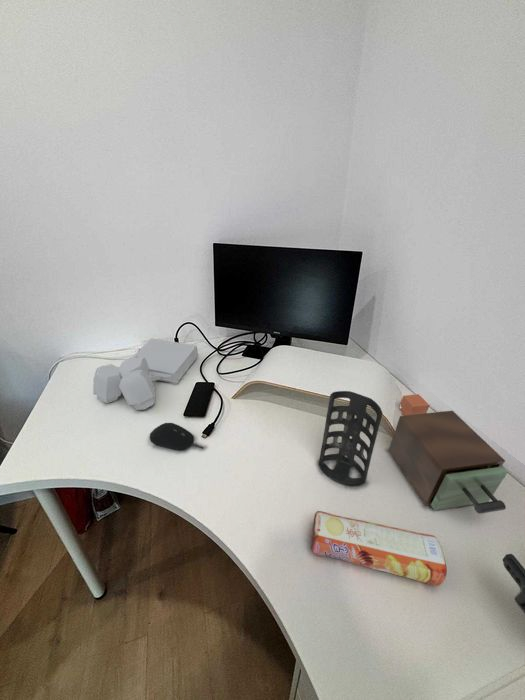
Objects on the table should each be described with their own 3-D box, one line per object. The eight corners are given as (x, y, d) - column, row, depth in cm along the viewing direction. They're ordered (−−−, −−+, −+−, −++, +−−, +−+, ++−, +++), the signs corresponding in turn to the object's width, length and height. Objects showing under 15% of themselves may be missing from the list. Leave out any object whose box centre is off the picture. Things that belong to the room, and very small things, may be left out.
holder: (314, 475, 66) (327, 403, 58) (319, 453, 73) (332, 385, 65) (364, 492, 63) (386, 417, 55) (365, 467, 70) (385, 397, 61)
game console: (200, 355, 109) (194, 326, 101) (151, 420, 84) (139, 388, 77) (153, 347, 113) (145, 319, 106) (94, 407, 89) (77, 375, 81)
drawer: (508, 525, 57) (532, 494, 52) (450, 535, 55) (470, 504, 50) (443, 451, 72) (457, 421, 67) (397, 456, 71) (408, 427, 66)
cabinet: (482, 497, 63) (505, 460, 57) (424, 505, 61) (442, 469, 55) (437, 444, 75) (452, 410, 69) (388, 450, 73) (399, 415, 68)
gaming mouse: (196, 458, 71) (195, 446, 69) (145, 442, 75) (142, 431, 73) (208, 439, 76) (207, 428, 74) (160, 425, 80) (157, 414, 78)
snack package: (308, 558, 52) (312, 537, 49) (312, 522, 58) (316, 501, 54) (438, 594, 48) (452, 574, 44) (429, 551, 53) (440, 530, 50)
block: (414, 407, 88) (418, 394, 85) (424, 418, 84) (429, 405, 81) (398, 408, 87) (403, 395, 85) (408, 420, 83) (413, 407, 80)
